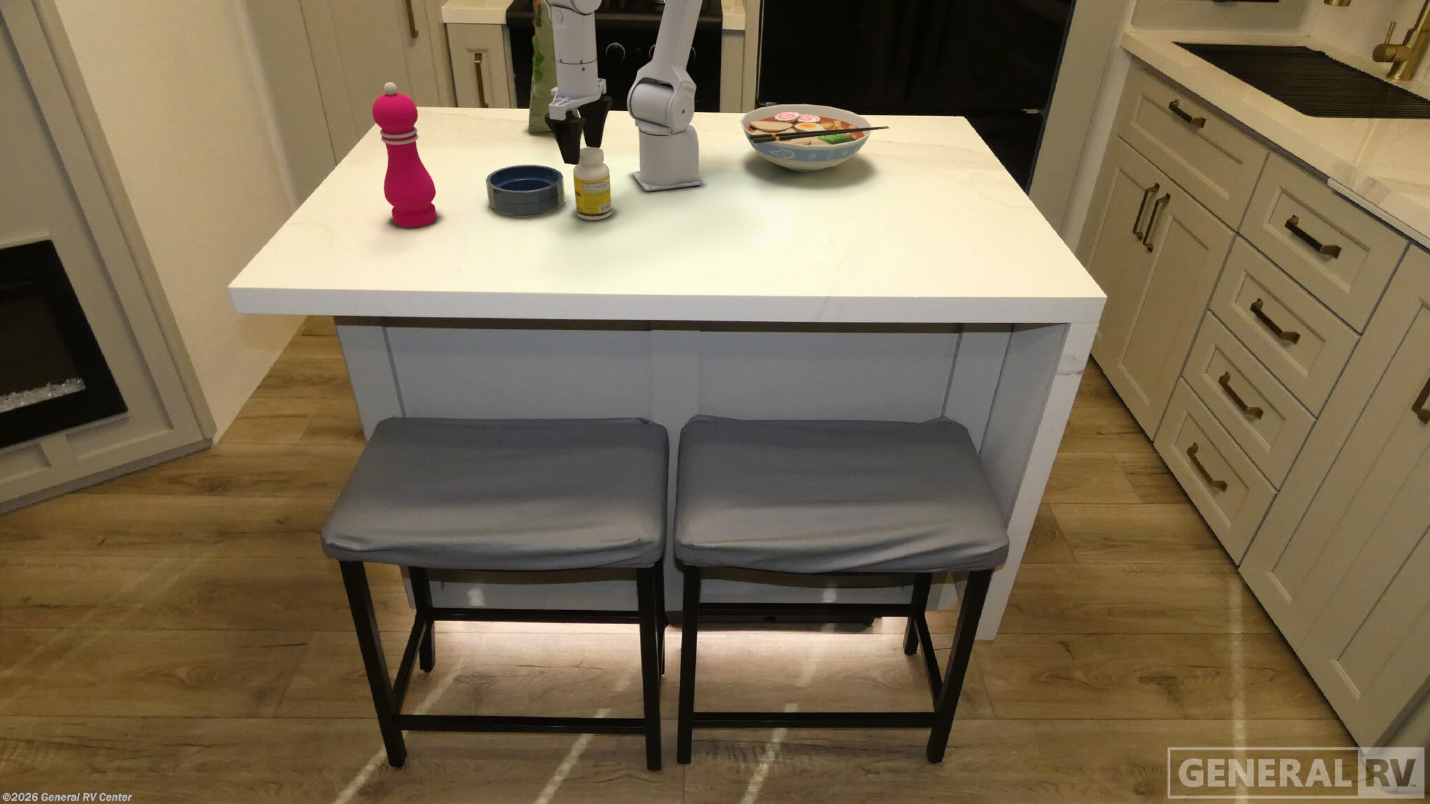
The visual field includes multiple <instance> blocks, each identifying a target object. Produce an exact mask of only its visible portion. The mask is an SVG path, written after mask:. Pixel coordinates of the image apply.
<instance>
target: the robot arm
mask: <svg viewBox="0 0 1430 804" xmlns="http://www.w3.org/2000/svg"><path fill="white" fill-rule="evenodd" d="M543 1H544V2H545V4H546V5H547V7H548V12H549V18H551V21H552V24H553V36H554V49H555V59H556V72H557V85H558V87H555V88H553V89H552V90H551V95H555V97H554V100H553V102H552V103H551V104H549V112H548V113H547V114H545V115H544V117H545V123H546V124H547V125H548V127H549V128H550V130H551V131H552V133H551V134H552V135H553V137H554V139H555V141H556V144H557V146H558V149H559V152H560V156H561V158H562V162H563V163H564V164H565V165H572V166H576V165H577V164H579V160H580V149H581V139H582V134H583V138H584V143H585V146H586V147H595V148H599V149H601V146H602V142H603V136H604V130H605V125H606V121H607V118H608V114H609V112H610V109H611V107H612V105H613V104H614V102H613V101H614V100H613V97H612V96H608V95H605V94H606V93H607V80H606V79H605V78H599V74H598V73H599V72H598V55H597V39H596V37H597V36H596V20H595V11H596V10H598V9H599V7H600V6H601V4H602V1H603V0H543ZM702 4H703V0H665V5H664V8H663V13H662V16H661V21H660V25H659V29H658V34H657V38H656V41H655V42H656V43H655V47H654V51H653V55H652V58H651V60H650V61H649V62H647V63H646V64H645V65H643V66H642V67H640V68H639V69H638V70H637V71H636V72H637V74H636V77H635V80H634V82H633V84H632V86H631V87H630V89H629V91H628V95H627V98H626V99H627V100H626V107H627V111H628V114H629V116H630V117H631V118H632V119H633V120H634V124H635V125H634V126H635V127H637V128H638V145H639V146H638V149H639V152H638V153H639V171H633V172H632V176H633V177H634V178H635V180H636V181H637V182H638V183H639V185H640V186H641V187H642V189H643V190H644V191H646V192H651V191H652V192H653V191H661V190H668V189H669V190H670V189H677V188H687V187H695V186H700V185H701V182H700V180H699V171H700V170H699V169H700V167H699V166H700V165H699V163H700V161H699V160H700V145H699V144H700V143H699V137H698V133H697V130H696V128H695V127H694V126H693V125H692V124H691V123H692V120H693V117H694V114H695V95H696V90H697V85H696V83H695V82H694V81H693V79H692V77H691V76H690V74H689V73H688V71H687V65H688V62H689V58H690V54H691V49H692V45H693V40H694V38H695V33H696V29H697V24H698V21H699V16H700V12H701V9H702ZM662 84H666V85H670V86H672V87H670V86H666V85H662ZM576 108H577V110H578V114H579V117H575V115H573V110H575V109H576Z"/></svg>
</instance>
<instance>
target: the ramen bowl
mask: <svg viewBox="0 0 1430 804" xmlns="http://www.w3.org/2000/svg"><path fill="white" fill-rule="evenodd" d="M739 123H740V125H741V127H742V130H743V132H744V134H745V137H746V138H747V140H748V142H749V144H750V145H751V147H752V149H754V151H755V152H756V153H757V154H758V155H759V156H761V157H762V158H764V159H765V160H767V161H769V162H771V163H772V164H775V165H777V166H780V167H784V168H785V169H787V170H788V171H792V172H798V173H814V172H818V171H820V170H822V169H827V168H832V167H836V166H838V165H839V164H842V163H843V162H845V161H847V160H849V159H852V158H853V156H855V155H856V154H858V152H859V151H860V150H861V148H862V147H863V146H864V145H865V144H866V142H867V140H869V137H870V135H871V134H872V131H879V130H886V129H887V130H888V129H890V127H889V126H888V125H887V126H885V125H884V126H873V125H872V124H871V122H870V121H869V120H868V119H867V118H866V117H864V116H861V115H860V114H857V113H855V112H852V111H850V110H846V109H841V108H836V107H834V106H833V107H832V106H827V105H817V104H806V103H801V104H799V103H798V104H797V103H796V104H793V103H791V104H776V105H770V106H763V107H759V108H757V109H754V110H751V111H749V112H746V113H745V114H744V115H743V116H742V117H741V118H740V120H739Z"/></svg>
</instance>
